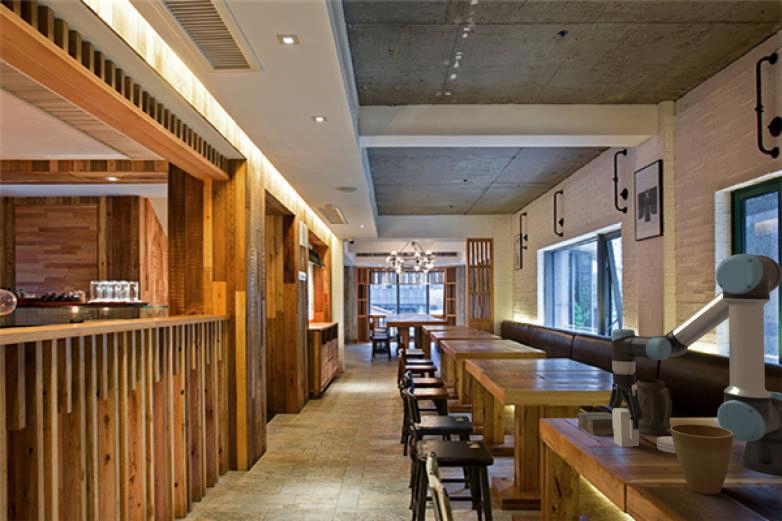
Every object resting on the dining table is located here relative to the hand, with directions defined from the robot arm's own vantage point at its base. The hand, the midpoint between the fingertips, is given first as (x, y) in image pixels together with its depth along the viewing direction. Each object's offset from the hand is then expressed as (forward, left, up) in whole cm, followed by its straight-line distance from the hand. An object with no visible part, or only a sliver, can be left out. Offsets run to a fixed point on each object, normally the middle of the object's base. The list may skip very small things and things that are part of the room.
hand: (625, 433), depth 190 cm
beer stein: (+14, -19, -4) cm, 24 cm away
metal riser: (+19, +1, -4) cm, 19 cm away
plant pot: (-44, 0, -4) cm, 44 cm away
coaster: (-7, -13, -4) cm, 16 cm away
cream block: (0, 0, -4) cm, 4 cm away
